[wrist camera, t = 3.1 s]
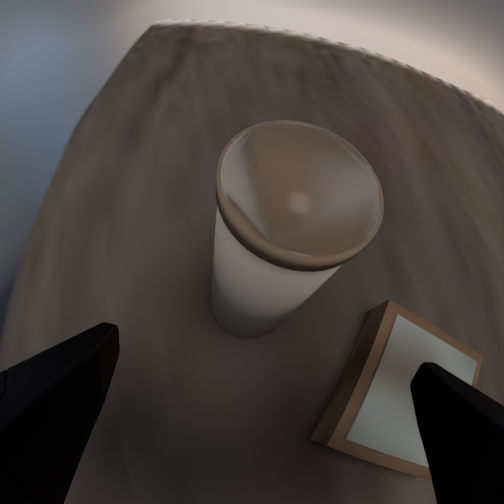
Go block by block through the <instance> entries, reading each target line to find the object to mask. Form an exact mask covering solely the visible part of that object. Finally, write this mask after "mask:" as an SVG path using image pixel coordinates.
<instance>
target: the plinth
mask: <svg viewBox="0 0 504 504" xmlns="http://www.w3.org/2000/svg"><path fill="white" fill-rule="evenodd" d="M482 359H483V356H482V355H480V354H479V353H477V352H476V351H474V350H472V349H471V348H469V347H468V346H466V345H464V344H463V343H461V342H460V341H458V340H456V339H455V338H453V337H451V336H450V335H448V334H447V333H445V332H443V331H442V330H440V329H438V328H437V327H435V326H434V325H432V324H430V323H429V322H427V321H425V320H424V319H422V318H420V317H419V316H417V315H415V314H414V313H412V312H410V311H409V310H407V309H405V308H404V307H402V306H400V305H399V304H397V303H395V302H394V301H392V300H390V299H389V300H387V301H385V302H384V303H382V304H380V305H378V306H377V307H375V308H373V309H371V310H370V311H368V314H367V317H366V319H365V322H364V324H363V327H362V329H361V332H360V334H359V337H358V339H357V342H356V344H355V346H354V349H353V351H352V353H351V356H350V358H349V360H348V363H347V365H346V367H345V369H344V372H343V374H342V376H341V378H340V380H339V382H338V385H337V387H336V389H335V391H334V393H333V395H332V397H331V399H330V401H329V403H328V405H327V407H326V409H325V411H324V413H323V415H322V417H321V419H320V421H319V423H318V425H317V427H316V429H315V431H314V432H313V434H312V436H311V438H310V439H311V440H313V441H316V442H318V443H320V444H323V445H325V446H328V447H330V448H333V449H336V450H338V451H341V452H343V453H346V454H349V455H351V456H354V457H357V458H360V459H363V460H366V461H368V462H371V463H374V464H377V465H381V466H384V467H387V468H390V469H393V470H397V471H400V472H403V473H407V474H411V475H414V476H418V477H422V478H426V479H430V480H432V478H431V474H430V470H429V466H428V462H427V458H426V455H425V451H424V447H423V444H422V440H421V437H420V433H419V429H418V425H417V420H416V415H415V410H414V405H413V400H412V396H411V391H410V383H411V380H412V379H413V377H414V375H415V373H416V372H417V370H418V368H419V366H420V365H421V364H422V363H423V362H434V363H436V364H438V365H439V366H441V367H442V368H444V369H446V370H447V371H449V372H450V373H452V374H454V375H455V376H457V377H458V378H460V379H461V380H463V381H465V382H466V383H468V384H469V385H471V386H473V387H474V388H475V387H476V384H477V380H478V376H479V372H480V368H481V363H482Z"/></svg>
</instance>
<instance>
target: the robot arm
mask: <svg viewBox="0 0 504 504" xmlns="http://www.w3.org/2000/svg"><path fill="white" fill-rule="evenodd" d="M119 352H120V347H119V330H118V327H117V326H116V325H114V324H110V323H106V322H103V323H100V324H98V325H96V326H94V327H92V328H90V329H88V330H86V331H84V332H82V333H80V334H78V335H76V336H74V337H72V338H70V339H68V340H65V341H63V342H61V343H59V344H57V345H55V346H53V347H51V348H49V349H47V350H45V351H43V352H41V353H39V354H37V355H35V356H33V357H31V358H29V359H27V360H25V361H22V362H20V363H18V364H16V365H14V366H12V367H10V368H8V369H7V370H4V371H2V372H0V504H64V501H65V499H66V496H67V493H68V490H69V488H70V485H71V482H72V480H73V477H74V474H75V472H76V469H77V467H78V464H79V462H80V459H81V457H82V454H83V452H84V449H85V447H86V444H87V442H88V439H89V437H90V434H91V432H92V430H93V427H94V425H95V423H96V420H97V418H98V416H99V413H100V411H101V409H102V406H103V404H104V401H105V399H106V395H107V392H108V389H109V386H110V382H111V379H112V376H113V373H114V370H115V367H116V363H117V360H118V357H119ZM410 391H411V396H412V400H413V405H414V410H415V415H416V420H417V425H418V429H419V433H420V437H421V440H422V444H423V447H424V451H425V455H426V458H427V462H428V466H429V470H430V474H431V478H432V482H433V487H434V491H435V496H436V500H437V504H504V406H503V405H501V404H499V403H498V402H496V401H495V400H493V399H492V398H490V397H488V396H487V395H485V394H484V393H482V392H480V391H479V390H477V389H476V388H474V387H473V386H471V385H469V384H468V383H466V382H465V381H463V380H461V379H460V378H458V377H457V376H455V375H454V374H452V373H450V372H449V371H447V370H446V369H444V368H442V367H441V366H439V365H438V364H436V363H434V362H423V363H422V364H421V365H420V366H419V368H418V370H417V372H416V373H415V375H414V377H413V379H412V380H411V383H410Z"/></svg>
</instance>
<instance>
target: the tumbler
mask: <svg viewBox="0 0 504 504" xmlns="http://www.w3.org/2000/svg"><path fill="white" fill-rule="evenodd" d="M216 201H217V216H216V228H215V241H214V254H213V269H212V284H211V309H212V313H213V315H214V318H215V319H216V321H217V322H218V324H219V325H220V326H221V327H222V328H223V329H224V330H225V331H227V332H228V333H230V334H232V335H234V336H236V337H240V338H246V339H253V338H259V337H262V336H264V335H267V334H268V333H270V332H271V331H273V330H274V329H275V328H276V327H277V326H278V325H279V324H281V323H282V322H283V321H284V320H285V319H286V318H287V317H288V316H289V315H290V314H291V313H292V312H294V311H295V310H296V309H297V308H298V307H299V306H300V305H301V304H302V303H303V302H304V301H305V300H306V299H307V298H308V297H310V296H311V295H312V294H313V293H314V292H315V291H316V290H317V289H318V288H319V287H320V286H321V285H322V284H323V283H324V282H325V281H326V280H327V279H328V278H329V277H330V276H331V275H332V274H333V273H334V272H335V271H336V270H337V269H338V268H339V267H340V266H341V265H342V264H344V263H346V262H348V261H349V260H351V259H352V258H353V257H354V256H356V255H357V254H358V253H359V252H360V251H361V250H362V249H363V248H364V247H365V246H366V245H367V244H368V243H369V242H370V241H371V240H372V238H373V237H374V236H375V234H376V233H377V231H378V229H379V227H380V224H381V221H382V218H383V211H384V200H383V194H382V189H381V186H380V183H379V181H378V178H377V176H376V174H375V172H374V171H373V169H372V167H371V166H370V164H369V163H368V162H367V160H366V159H365V158H364V157H363V156H362V155H361V153H360V152H359V151H358V150H356V149H355V148H354V147H353V146H352V145H351V144H349V143H348V142H347V141H345V140H344V139H342V138H341V137H339V136H338V135H336V134H334V133H332V132H330V131H328V130H326V129H324V128H321V127H319V126H316V125H312V124H309V123H304V122H299V121H291V120H277V121H269V122H263V123H260V124H256V125H253V126H251V127H249V128H247V129H245V130H243V131H242V132H240V133H239V134H237V135H236V136H235V137H234V138H233V139H232V140H231V141H230V142H229V143H228V144H227V145H226V147H225V149H224V150H223V152H222V154H221V157H220V159H219V163H218V168H217V178H216Z"/></svg>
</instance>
